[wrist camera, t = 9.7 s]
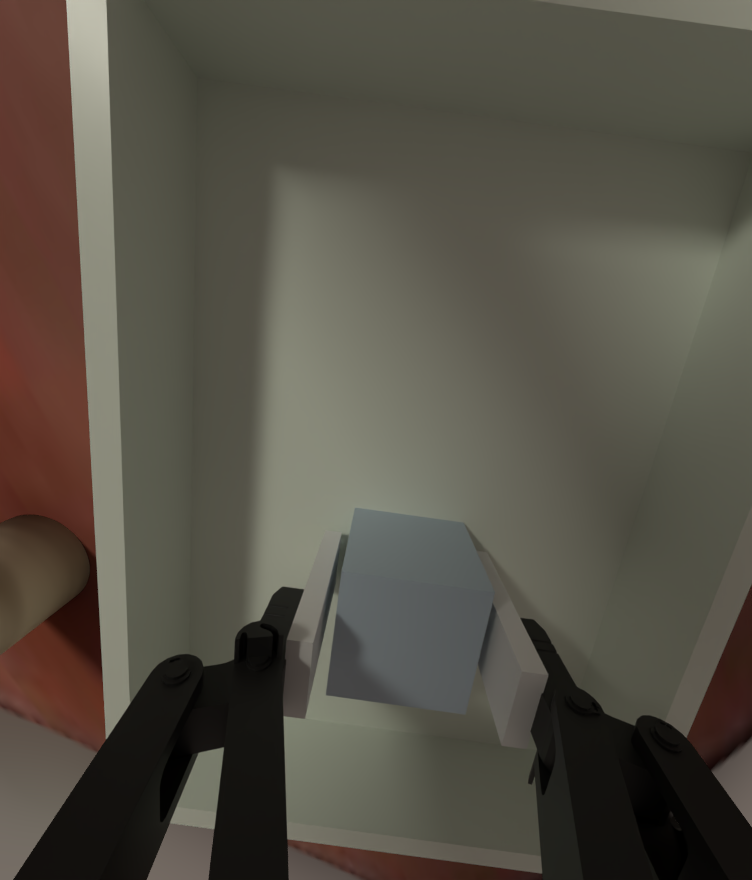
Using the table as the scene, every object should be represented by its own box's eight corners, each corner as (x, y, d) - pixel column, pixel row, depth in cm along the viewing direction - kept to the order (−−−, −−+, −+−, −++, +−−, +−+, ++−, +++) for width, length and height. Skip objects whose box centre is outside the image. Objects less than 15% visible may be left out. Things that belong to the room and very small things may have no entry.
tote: (176, 704, 20) (109, 815, 15) (179, 53, 13) (59, -118, 8) (567, 757, 20) (624, 884, 15) (774, 134, 13) (996, 8, 8)
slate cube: (354, 507, 17) (341, 571, 12) (463, 522, 17) (495, 592, 12) (342, 601, 18) (325, 695, 13) (444, 615, 18) (465, 714, 13)
